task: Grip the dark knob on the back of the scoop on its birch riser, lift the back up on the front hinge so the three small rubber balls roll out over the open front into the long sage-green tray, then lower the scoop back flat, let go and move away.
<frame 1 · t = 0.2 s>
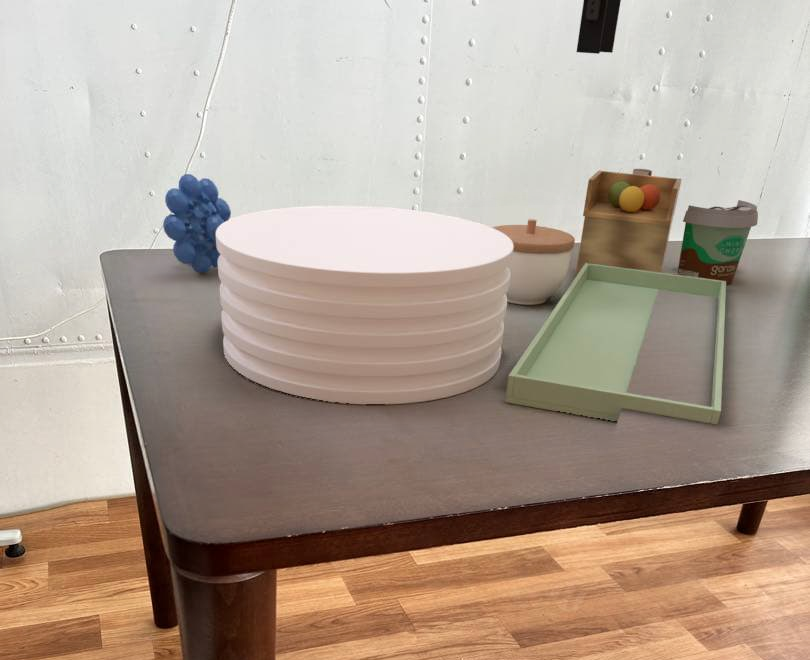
hand: (595, 52, 105), 27 cm above the table, tool pointing down, fingers open, 13 cm apart
plate stack: (363, 352, 84), on the table
food container: (714, 283, 115), on the table
grapes: (209, 276, 105), on the table
scoop: (635, 193, 111), point 11 cm above the table, hinge at 0.0°, touching ball mustard, ball olive, ball terracotta
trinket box: (522, 299, 103), on the table
tray: (632, 342, 90), on the table
riser: (618, 276, 115), on the table
ball terracotta: (647, 197, 110), point 10 cm above the table, touching scoop
ball olive: (620, 194, 111), point 10 cm above the table, touching scoop
ball mustard: (631, 199, 108), point 10 cm above the table, touching scoop
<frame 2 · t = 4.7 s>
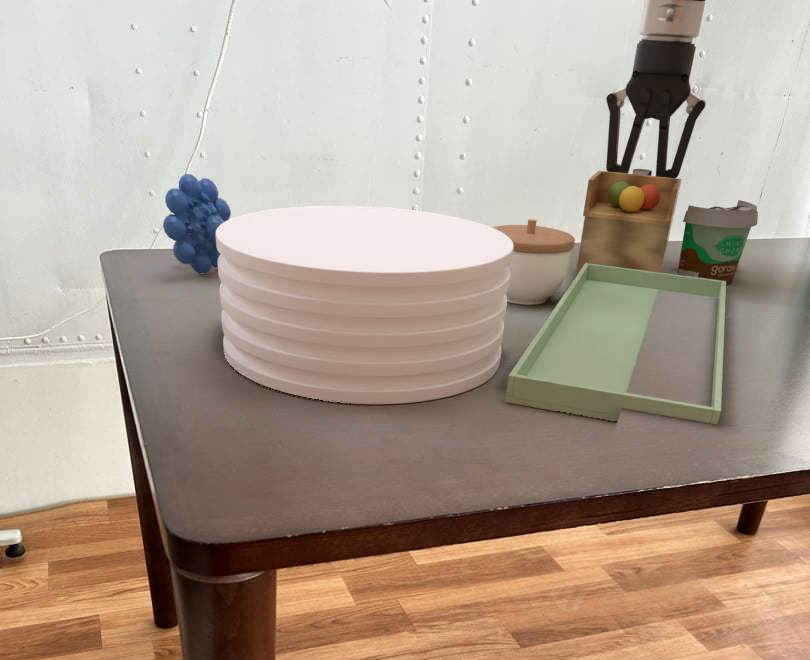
hand: (631, 227, 119), 5 cm above the table, tool pointing down, fingers closed on scoop, 3 cm apart
scoop: (635, 193, 111), point 11 cm above the table, hinge at 0.0°, touching ball mustard, ball olive, ball terracotta, gripper
everything else where it was.
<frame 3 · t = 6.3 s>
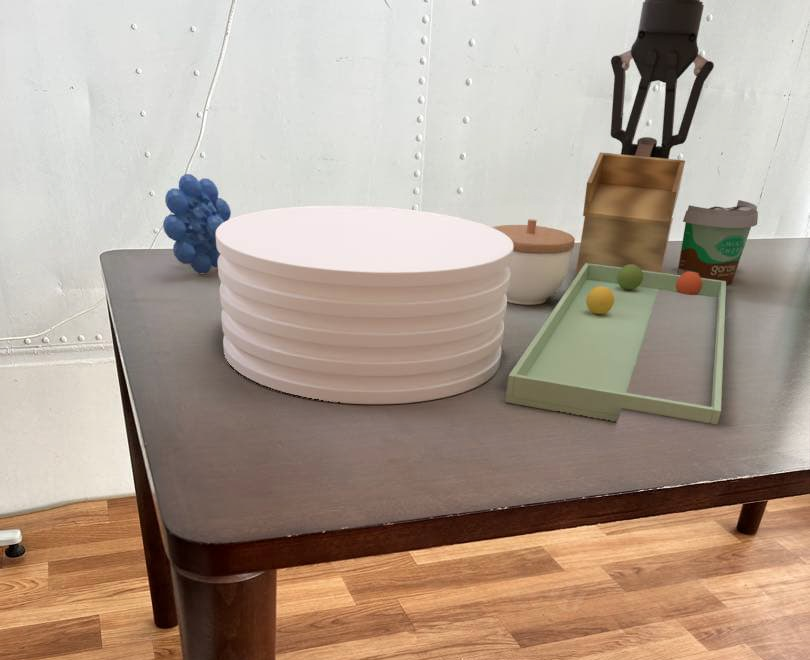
hand: (637, 196, 116), 10 cm above the table, tool pointing down, fingers closed on scoop, 3 cm apart
scoop: (637, 177, 109), point 13 cm above the table, hinge at 16.9°, touching gripper
ball terracotta: (688, 284, 104), point 2 cm above the table, tilted 39°, touching tray
ball olive: (630, 277, 106), point 2 cm above the table, tilted 139°, touching tray
ball mustard: (600, 300, 96), point 2 cm above the table, tilted 26°, touching tray
everything else where it was.
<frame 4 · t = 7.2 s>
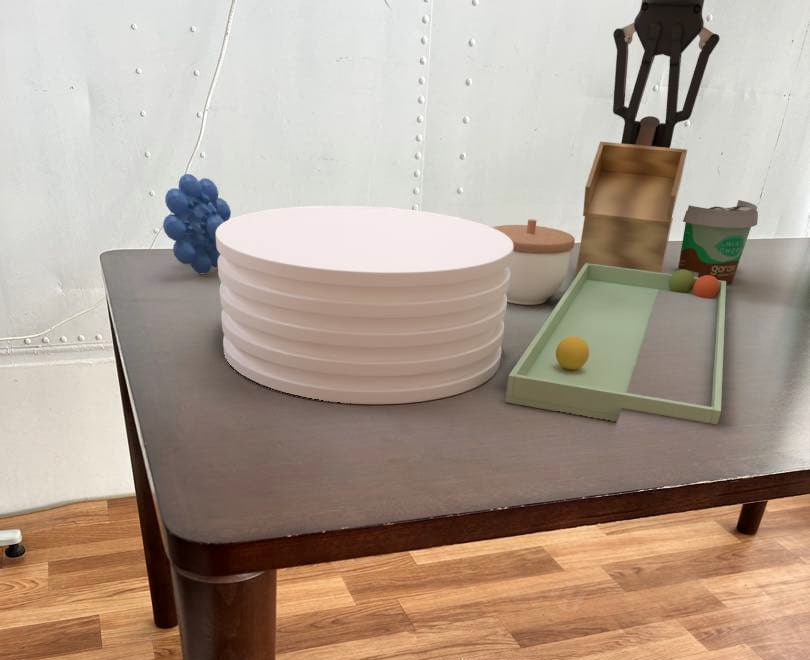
hand: (640, 175, 113), 13 cm above the table, tool pointing down, fingers closed on scoop, 3 cm apart
scoop: (638, 167, 108), point 14 cm above the table, hinge at 29.5°, touching gripper
ball terracotta: (706, 288, 103), point 2 cm above the table, tilted 49°, touching tray
ball olive: (681, 282, 105), point 2 cm above the table, tilted 24°, touching tray
ball mustard: (572, 353, 80), point 2 cm above the table, tilted 33°, touching tray
everything else where it was.
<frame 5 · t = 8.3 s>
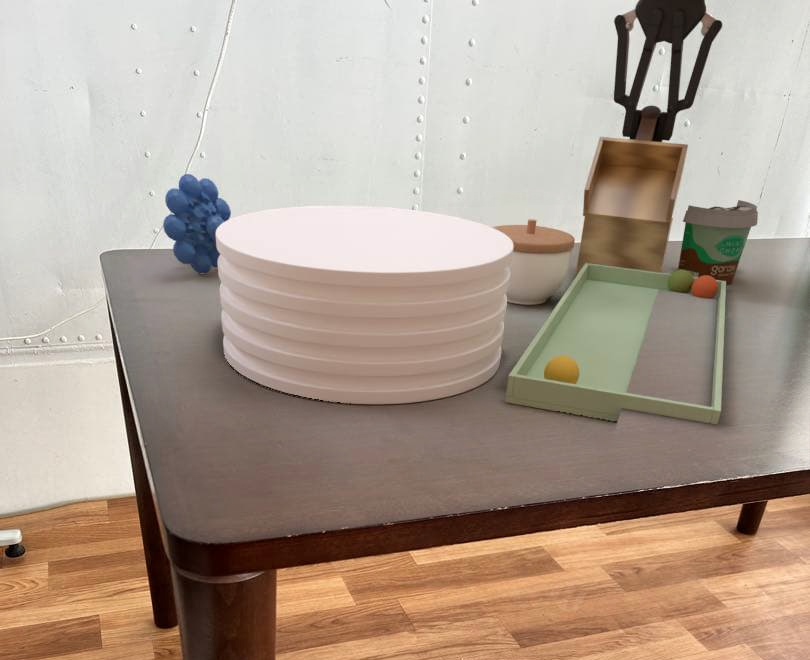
hand: (641, 165, 111), 14 cm above the table, tool pointing down, fingers closed on scoop, 3 cm apart
scoop: (639, 163, 107), point 15 cm above the table, hinge at 36.9°, touching gripper
ball olive: (680, 282, 105), point 2 cm above the table, tilted 17°, touching tray
ball mustard: (561, 373, 75), point 2 cm above the table, tilted 101°, touching tray
everything else where it was.
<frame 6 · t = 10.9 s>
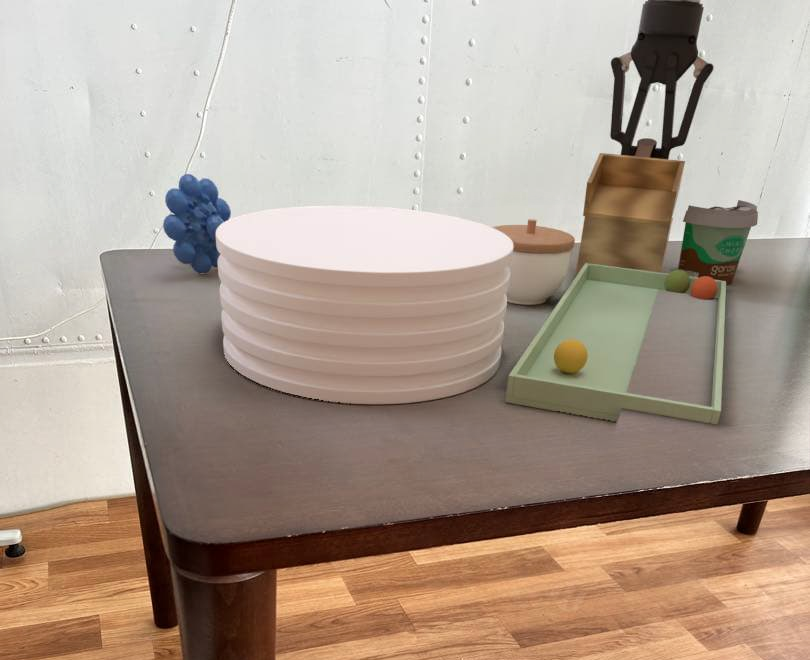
hand: (636, 198, 116), 9 cm above the table, tool pointing down, fingers closed on scoop, 3 cm apart
scoop: (637, 178, 109), point 13 cm above the table, hinge at 16.2°, touching gripper
ball terracotta: (704, 289, 103), point 2 cm above the table, tilted 63°, touching tray
ball olive: (677, 282, 105), point 2 cm above the table, tilted 7°, touching tray
ball mustard: (570, 356, 79), point 2 cm above the table, tilted 76°, touching tray
everything else where it was.
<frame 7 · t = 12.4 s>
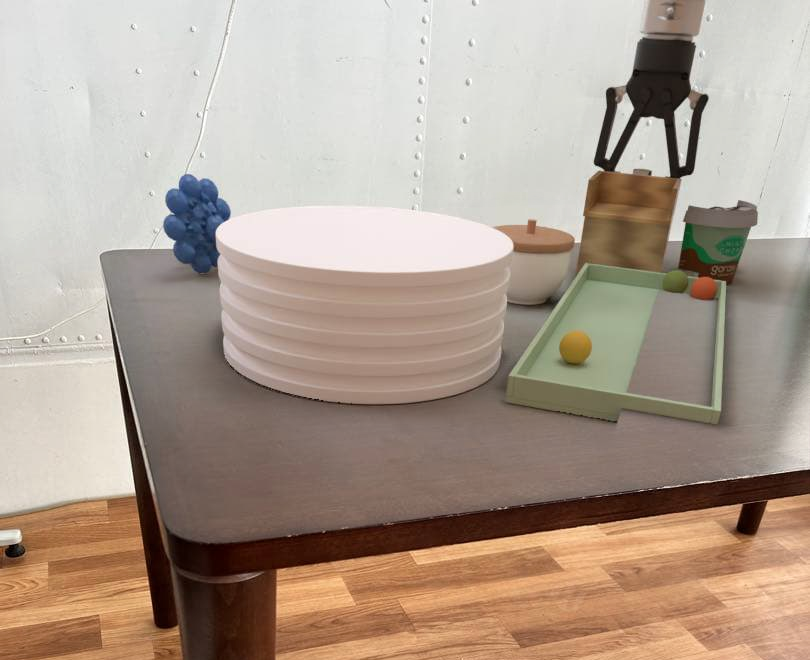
hand: (632, 223, 119), 6 cm above the table, tool pointing down, fingers open, 6 cm apart
scoop: (635, 193, 111), point 11 cm above the table, hinge at 0.0°
ball terracotta: (703, 290, 102), point 2 cm above the table, tilted 73°, touching tray
ball olive: (675, 283, 105), point 2 cm above the table, tilted 16°, touching tray
ball mustard: (575, 347, 81), point 2 cm above the table, tilted 29°, touching tray
everything else where it was.
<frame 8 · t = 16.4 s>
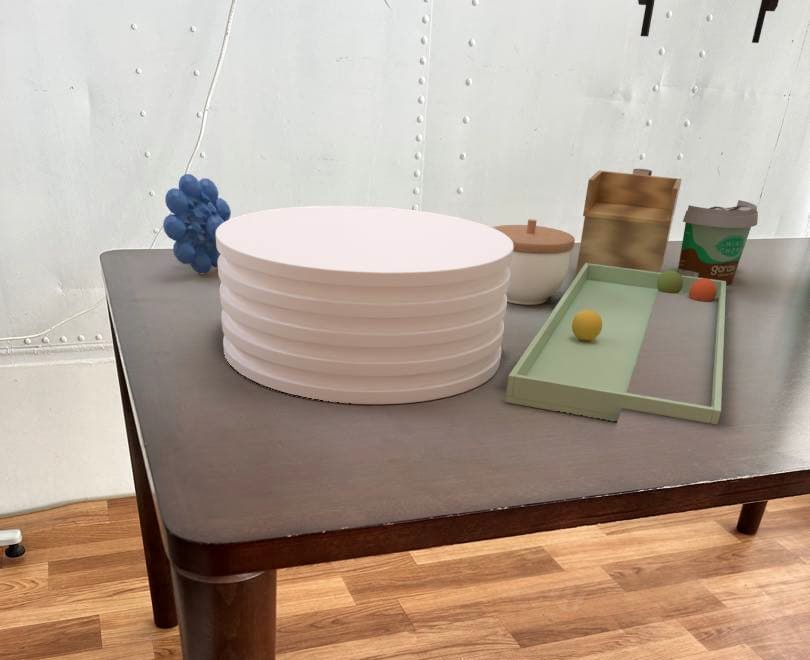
hand: (698, 40, 104), 29 cm above the table, tool pointing down, fingers open, 13 cm apart
ball terracotta: (703, 291, 102), point 2 cm above the table, tilted 98°, touching tray
ball olive: (670, 283, 104), point 2 cm above the table, tilted 45°, touching tray
ball mustard: (587, 325, 87), point 2 cm above the table, tilted 50°, touching tray
everything else where it was.
at the end: ball terracotta inside the target area in the tray (18.9 cm from its centre), point 2.2 cm above the tray's base; ball olive inside the target area in the tray (19.7 cm from its centre), point 2.2 cm above the tray's base; ball mustard inside the target area in the tray (5.8 cm from its centre), point 2.2 cm above the tray's base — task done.
